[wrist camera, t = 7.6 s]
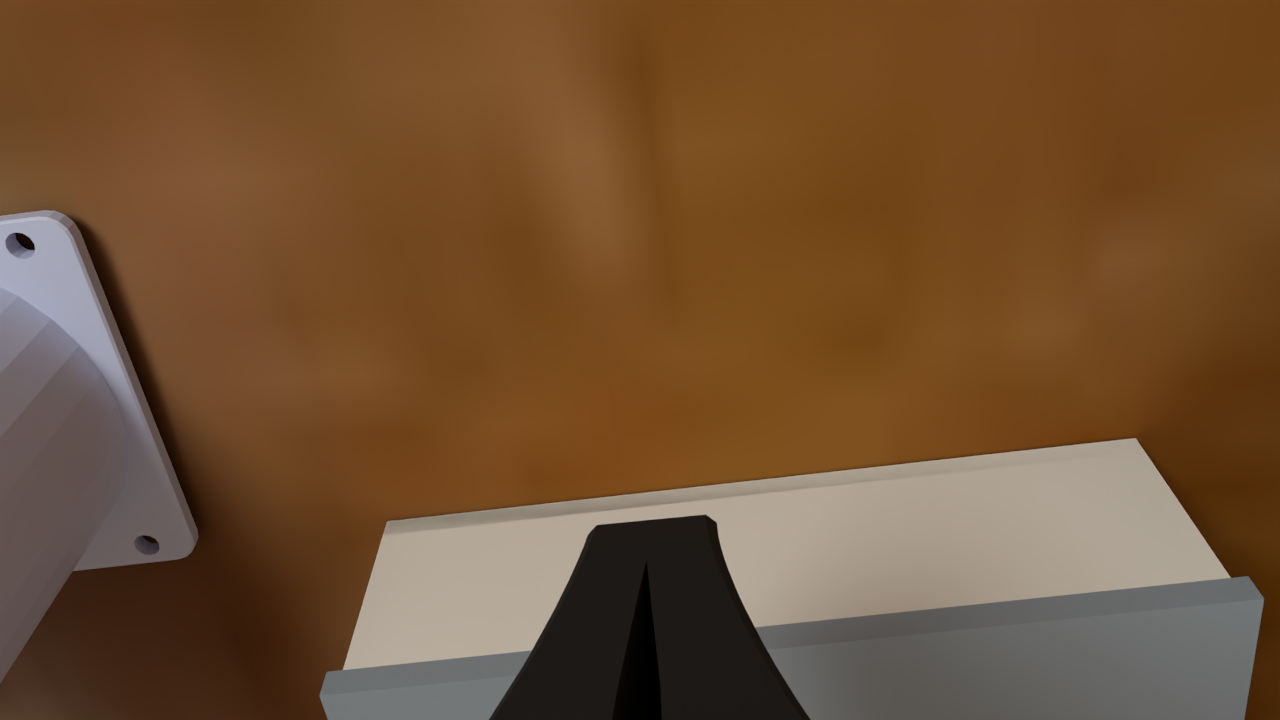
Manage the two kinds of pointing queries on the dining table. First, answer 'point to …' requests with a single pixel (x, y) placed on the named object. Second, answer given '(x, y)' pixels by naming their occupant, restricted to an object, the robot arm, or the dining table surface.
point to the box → (802, 547)
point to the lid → (936, 662)
